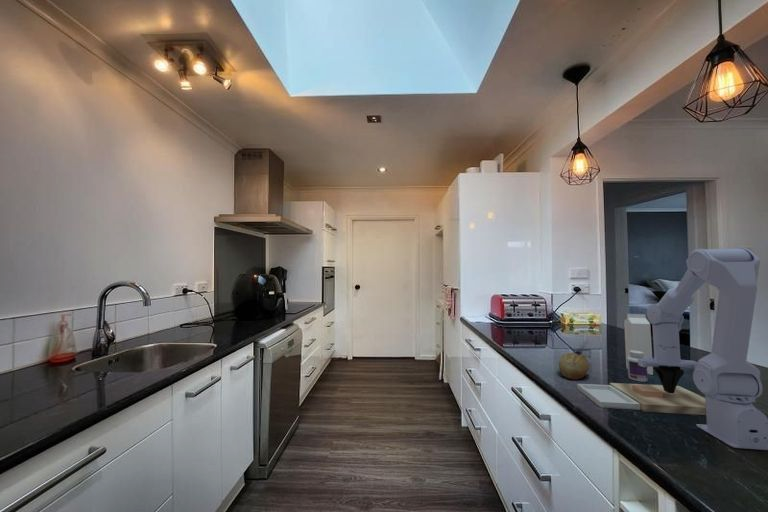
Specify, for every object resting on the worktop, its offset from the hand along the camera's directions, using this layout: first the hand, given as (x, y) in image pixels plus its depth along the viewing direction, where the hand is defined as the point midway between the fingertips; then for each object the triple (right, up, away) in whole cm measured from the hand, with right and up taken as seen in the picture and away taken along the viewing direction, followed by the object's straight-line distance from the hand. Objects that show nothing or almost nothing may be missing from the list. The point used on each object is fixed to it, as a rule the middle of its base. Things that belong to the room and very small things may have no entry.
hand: (669, 391), depth 88 cm
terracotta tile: (-6, -1, +1) cm, 6 cm away
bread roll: (-13, -5, +23) cm, 27 cm away
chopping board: (-2, -3, 0) cm, 3 cm away
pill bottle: (+6, -4, +18) cm, 19 cm away
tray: (-17, -3, +2) cm, 17 cm away
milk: (+13, -4, +26) cm, 30 cm away
